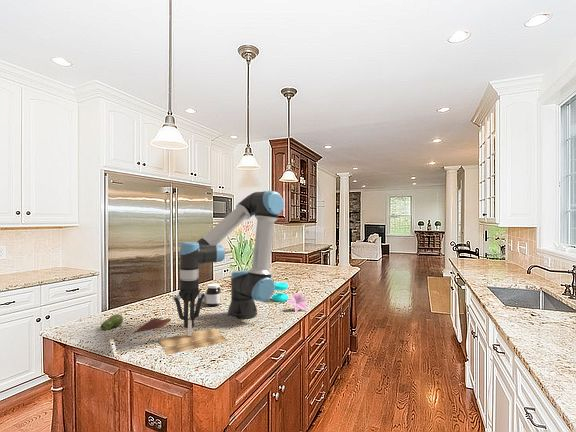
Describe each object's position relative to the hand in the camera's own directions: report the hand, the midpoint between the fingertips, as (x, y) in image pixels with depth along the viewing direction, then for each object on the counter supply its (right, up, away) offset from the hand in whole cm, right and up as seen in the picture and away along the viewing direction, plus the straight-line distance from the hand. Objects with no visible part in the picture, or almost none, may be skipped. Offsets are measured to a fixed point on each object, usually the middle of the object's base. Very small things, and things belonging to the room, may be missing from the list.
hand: (188, 334), depth 136 cm
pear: (-40, -2, +14) cm, 43 cm away
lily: (+47, -2, +42) cm, 63 cm away
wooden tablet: (-22, -3, +12) cm, 26 cm away
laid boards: (+5, -2, -8) cm, 10 cm away
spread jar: (-3, -2, +53) cm, 53 cm away
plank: (+1, -2, -1) cm, 2 cm away
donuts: (+37, -2, +63) cm, 73 cm away
